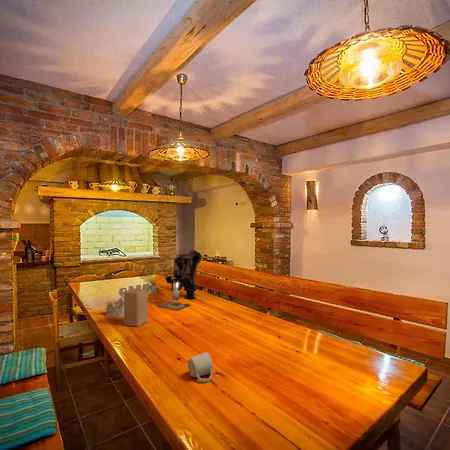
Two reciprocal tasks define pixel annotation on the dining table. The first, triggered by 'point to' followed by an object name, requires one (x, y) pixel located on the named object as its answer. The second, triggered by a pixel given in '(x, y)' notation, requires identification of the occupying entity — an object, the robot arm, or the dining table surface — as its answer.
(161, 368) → the dining table surface
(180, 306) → the dark grey flat slab
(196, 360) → the ceramic mug
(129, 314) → the wooden block
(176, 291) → the shiny metal cylinder
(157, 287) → the dried plant
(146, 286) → the goblet set
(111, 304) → the ceramic cottage
